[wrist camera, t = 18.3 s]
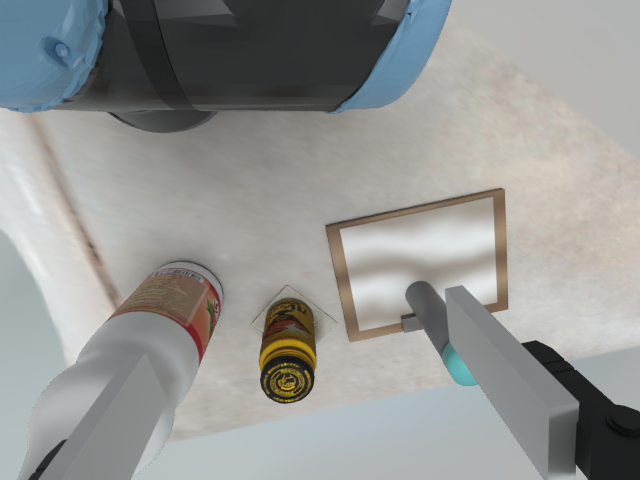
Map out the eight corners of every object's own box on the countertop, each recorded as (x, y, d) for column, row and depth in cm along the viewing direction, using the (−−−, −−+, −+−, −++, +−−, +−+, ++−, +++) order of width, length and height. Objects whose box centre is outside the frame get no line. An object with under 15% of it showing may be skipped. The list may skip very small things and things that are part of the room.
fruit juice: (188, 244, 41) (-7, 465, 15) (240, 301, 44) (154, 573, 18) (129, 288, 43) (-147, 563, 16) (183, 340, 45) (23, 649, 19)
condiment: (286, 284, 44) (283, 341, 32) (337, 321, 46) (350, 388, 35) (250, 323, 45) (234, 392, 34) (301, 358, 47) (302, 433, 36)
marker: (404, 282, 43) (451, 352, 30) (434, 278, 43) (494, 347, 30) (404, 309, 45) (450, 388, 31) (434, 305, 45) (492, 383, 31)
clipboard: (325, 225, 42) (326, 230, 40) (500, 188, 41) (510, 191, 40) (348, 338, 47) (351, 347, 45) (504, 306, 47) (513, 313, 45)
